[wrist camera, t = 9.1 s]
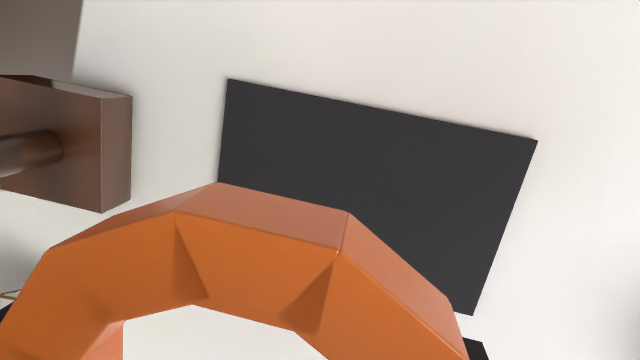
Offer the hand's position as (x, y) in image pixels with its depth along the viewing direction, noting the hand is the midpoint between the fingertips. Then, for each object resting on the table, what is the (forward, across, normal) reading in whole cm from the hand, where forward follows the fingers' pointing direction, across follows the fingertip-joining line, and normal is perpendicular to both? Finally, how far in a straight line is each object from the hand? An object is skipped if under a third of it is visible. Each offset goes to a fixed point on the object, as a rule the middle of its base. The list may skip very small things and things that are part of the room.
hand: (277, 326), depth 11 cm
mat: (+14, +2, 0) cm, 14 cm away
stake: (+14, -19, 0) cm, 24 cm away
